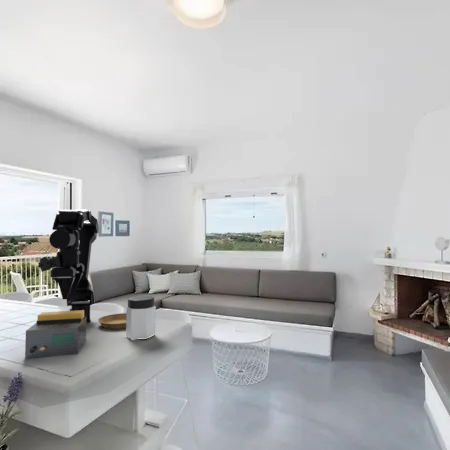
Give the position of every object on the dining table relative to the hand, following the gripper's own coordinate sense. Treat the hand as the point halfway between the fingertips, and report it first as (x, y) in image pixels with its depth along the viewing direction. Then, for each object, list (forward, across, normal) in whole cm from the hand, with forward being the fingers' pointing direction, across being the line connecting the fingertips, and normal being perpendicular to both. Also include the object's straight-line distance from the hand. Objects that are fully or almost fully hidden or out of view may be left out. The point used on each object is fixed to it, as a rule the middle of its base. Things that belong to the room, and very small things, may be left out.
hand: (68, 296), depth 102 cm
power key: (+5, +11, +1) cm, 12 cm away
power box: (+12, +14, +1) cm, 18 cm away
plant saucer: (+12, -8, +15) cm, 22 cm away
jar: (+12, +8, +23) cm, 27 cm away
